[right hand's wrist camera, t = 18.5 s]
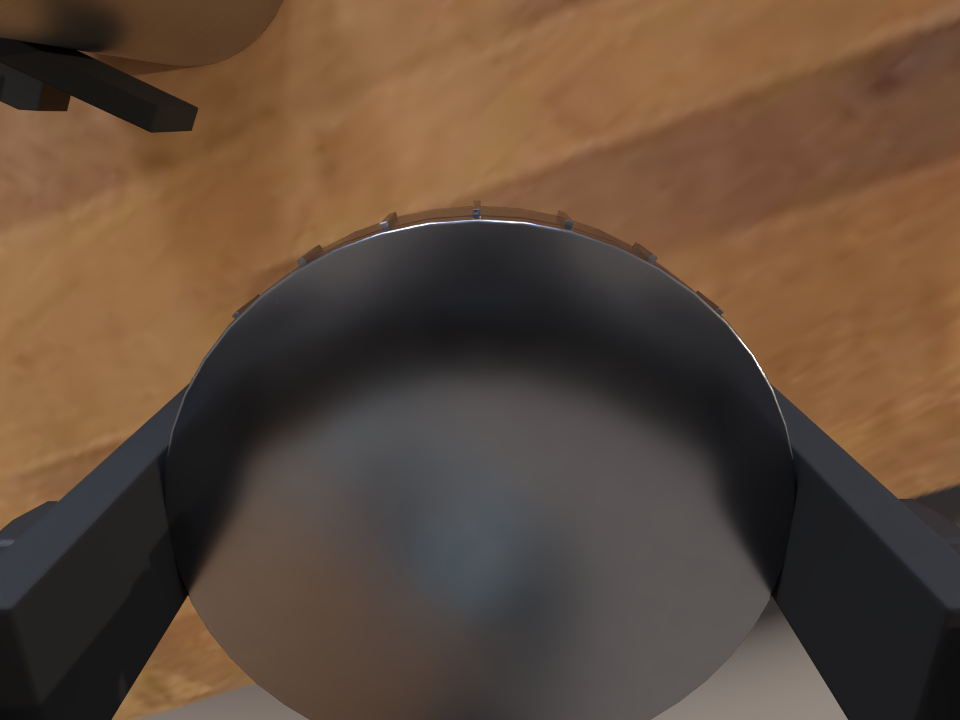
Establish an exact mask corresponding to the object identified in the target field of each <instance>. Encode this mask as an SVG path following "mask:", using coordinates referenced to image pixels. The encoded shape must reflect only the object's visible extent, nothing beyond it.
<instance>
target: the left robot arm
mask: <svg viewBox="0 0 960 720" xmlns="http://www.w3.org/2000/svg"><path fill="white" fill-rule="evenodd" d="M70 96H73V97H76V98H78V99H80V100H82V101H84V102H86V103H89V104H91V105H93V106H95V107H97V108H99V109H101V110H104V111H106V112H108V113H110V114H112V115H114V116H117V117H119V118H121V119H123V120H125V121H127V122H130V123H132V124H134V125H136V126H138V127H140V128H142V129H145V130H147V131H149V132H151V133H153V132H175V131H192V128H193V124H194V121H195V118H196V114H197V111H198V108H197V107H195V106H193V105H191V104H189V103H187V102H185V101H183V100H181V99H178V98H176V97H174V96H172V95H170V94H168V93H166V92H164V91H162V90H159V89H157V88H155V87H153V86H151V85H149V84H147V83H145V82H143V81H140V80H138V79H136V78H134V77H132V76H130V75H128V74H126V73H124V72H121V71H119V70H117V69H115V68H113V67H111V66H109V65H107V64H105V63H103V62H100V61H98V60H96V59H94V58H92V57H90V56H88V55H86V54H84V53H81V52H79V51H77V50H74V49H68V48H62V47H56V46H50V45H44V44H38V43H32V42H26V41H20V40H14V39H8V38H2V37H0V101H1V102H3V103H6V104H8V105H10V106H12V107H14V108H17V109H19V110H34V111H67V109H68V105H69V100H70Z"/></svg>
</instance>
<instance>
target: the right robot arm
mask: <svg viewBox="0 0 960 720" xmlns="http://www.w3.org/2000/svg"><path fill="white" fill-rule="evenodd" d="M189 384H190V383H189ZM189 384H188V385H187V386H186V387H185V388H184V389H183V390H182V391H181V392H179V393H178V394H177V395H176V396H175V397H174V398H173V399H172V400H171V401H169V402H168V403H167V404H166V405H165V406H164V407H163V408H162V409H161V410H159V411H158V412H157V413H156V414H155V415H154V416H153V417H152V418H151V419H149V420H148V421H147V422H146V423H145V424H144V425H143V426H142V427H141V428H140V429H138V430H137V431H136V432H135V433H134V434H133V435H132V436H131V437H130V438H128V439H127V440H126V441H125V442H124V443H123V444H122V445H121V446H120V447H118V448H117V449H116V450H115V451H114V452H113V453H112V454H111V455H110V456H109V457H107V458H106V459H105V460H104V461H103V462H102V463H101V464H100V465H99V466H97V467H96V468H95V469H94V470H93V471H92V472H91V473H90V474H89V475H87V476H86V477H85V478H84V479H83V480H82V481H81V482H80V483H79V484H77V485H76V486H75V487H74V488H73V489H72V490H71V491H70V492H69V493H68V494H66V495H65V496H64V497H63V498H62V499H61V500H60V501H48V502H46V503H44V504H42V505H40V506H38V507H37V508H35V509H33V510H31V511H29V512H27V513H25V514H23V515H22V516H20V517H18V518H16V519H14V520H13V521H11V522H10V523H9V524H8V525H7V526H6V527H4V528H3V529H2V530H1V531H0V720H111V719H112V718H113V716H114V714H115V713H116V711H117V710H118V708H119V706H120V705H121V703H122V701H123V700H124V698H125V697H126V695H127V693H128V692H129V690H130V688H131V687H132V685H133V684H134V682H135V680H136V679H137V677H138V675H139V674H140V672H141V671H142V669H143V667H144V666H145V664H146V662H147V661H148V659H149V658H150V656H151V654H152V653H153V651H154V649H155V648H156V646H157V645H158V643H159V641H160V640H161V638H162V636H163V635H164V633H165V632H166V630H167V628H168V627H169V625H170V624H171V622H172V620H173V619H174V617H175V615H176V614H177V612H178V611H179V609H180V607H181V606H182V604H183V602H184V601H185V599H186V598H187V596H188V593H187V591H186V589H185V586H184V584H183V582H182V580H181V577H180V575H179V573H178V570H177V566H176V562H175V557H174V553H173V548H172V543H171V538H170V533H169V527H168V521H167V516H166V510H165V505H164V489H165V464H166V458H167V453H168V448H169V442H170V437H171V432H172V428H173V425H174V422H175V419H176V416H177V414H178V411H179V408H180V405H181V402H182V399H183V397H184V394H185V392H186V390H187V388H188V386H189ZM770 385H771V384H770ZM771 386H772V385H771ZM772 388H773V391H774V393H775V396H776V398H777V401H778V404H779V406H780V409H781V412H782V414H783V417H784V420H785V422H786V425H787V430H788V435H789V440H790V444H791V449H792V454H793V459H794V473H795V494H796V500H795V508H794V514H793V519H792V525H791V531H790V536H789V541H788V546H787V551H786V556H785V560H784V565H783V569H782V571H781V574H780V576H779V579H778V581H777V583H776V586H775V588H774V590H773V593H772V597H773V598H774V600H775V601H776V603H777V605H778V606H779V608H780V610H781V611H782V613H783V614H784V616H785V618H786V619H787V621H788V622H789V624H790V626H791V627H792V629H793V631H794V632H795V634H796V636H797V637H798V639H799V640H800V642H801V644H802V645H803V647H804V648H805V650H806V652H807V653H808V655H809V657H810V658H811V660H812V661H813V663H814V665H815V666H816V668H817V670H818V671H819V673H820V675H821V676H822V678H823V679H824V681H825V683H826V684H827V686H828V688H829V689H830V691H831V692H832V694H833V696H834V697H835V699H836V700H837V702H838V704H839V705H840V707H841V709H842V710H843V712H844V714H845V715H846V717H847V718H848V720H960V528H959V527H958V526H956V525H955V524H954V523H953V522H952V521H950V520H949V519H948V518H947V517H945V516H943V515H941V514H939V513H937V512H935V511H934V510H932V509H930V508H928V507H926V506H924V505H922V504H920V503H919V502H917V501H915V500H913V499H898V498H896V497H895V496H894V495H893V494H892V493H891V492H890V491H889V490H888V489H886V488H885V487H884V486H883V485H882V484H881V483H880V482H879V481H878V480H877V479H875V478H874V477H873V476H872V475H871V474H870V473H869V472H868V471H867V470H865V469H864V468H863V467H862V466H861V465H860V464H859V463H858V462H857V461H855V460H854V459H853V458H852V457H851V456H850V455H849V454H848V453H847V452H845V451H844V450H843V449H842V448H841V447H840V446H839V445H838V444H837V443H836V442H834V441H833V440H832V439H831V438H830V437H829V436H828V435H827V434H826V433H824V432H823V431H822V430H821V429H820V428H819V427H818V426H817V425H816V424H814V423H813V422H812V421H811V420H810V419H809V418H808V417H807V416H806V415H805V414H803V413H802V412H801V411H800V410H799V409H798V408H797V407H796V406H795V405H793V404H792V403H791V402H790V401H789V400H788V399H787V398H786V397H785V396H783V395H782V394H781V393H780V392H779V391H778V390H777V389H776V388H775V387H774V386H772Z"/></svg>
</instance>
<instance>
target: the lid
mask: <svg viewBox="0 0 960 720" xmlns="http://www.w3.org/2000/svg"><path fill="white" fill-rule="evenodd" d="M656 260H657V257H656V256H655V255H654V254H652V253H651V252H650V251H648V250H647V249H646V248H644V247H643V246H642V245H640V244H639V243H637V242H635V244H634V245H633V246H631V245H629V244H627V243H625V242H623V241H621V240H619V239H617V238H615V237H613V236H611V235H609V234H607V233H605V232H603V231H601V230H599V229H596V228H594V227H591V226H588V225H585V224H582V223H579V222H576V221H573V220H572V219H571V218H570V217H569V216H568V215H567V214H566V213H565V212H563V211H558V214H557V215H551V214H546V213H541V212H536V211H531V210H526V209H521V208H507V207H490V206H481V201H473V206H467V207H454V208H441V209H432V210H428V211H423V212H418V213H414V214H409V215H404V216H400V217H397V214H396V212H393V213H390V214H389V215H388V216H387V217H386V218H385V219H384V220H383V221H382V222H381V223H378V224H375V225H372V226H369V227H367V228H364V229H361V230H358V231H356V232H354V233H352V234H350V235H348V236H346V237H344V238H342V239H340V240H338V241H336V242H335V243H333V244H331V245H329V246H327V247H325V248H323V249H322V248H321V246H320V245H318V246H316V247H314V248H313V249H312V250H310V251H309V252H308V253H306V254H305V255H304V256H302V257H301V258H300V259H298V260H297V262H298V263H299V266H297V267H296V268H294V269H293V270H292V271H290V272H289V273H288V274H286V275H285V276H284V277H282V278H281V279H280V280H279V281H277V282H276V283H275V284H274V285H272V286H271V287H270V288H268V289H267V290H266V291H265V292H263V293H262V294H261V295H259V294H258V295H257V296H256V297H254V298H253V299H252V300H250V301H249V302H248V303H247V304H245V305H244V306H243V307H241V308H240V309H239V310H238V311H236V312H235V314H234V315H233V317H234V318H235V320H234V321H233V322H232V323H231V324H230V325H229V326H228V327H227V328H226V330H225V331H224V332H223V334H222V335H221V336H220V337H219V339H218V340H217V341H216V343H215V344H214V345H213V347H212V348H211V349H210V351H209V352H208V353H207V355H206V356H205V357H204V359H203V360H202V362H201V364H200V366H199V368H198V370H197V371H196V373H195V375H194V377H193V378H192V380H191V382H190V384H189V386H188V388H187V390H186V392H185V394H184V397H183V399H182V402H181V405H180V408H179V411H178V414H177V416H176V419H175V422H174V425H173V428H172V432H171V437H170V442H169V448H168V453H167V458H166V464H165V489H164V505H165V510H166V516H167V521H168V527H169V533H170V538H171V543H172V548H173V553H174V557H175V562H176V566H177V570H178V573H179V575H180V577H181V580H182V582H183V584H184V586H185V589H186V591H187V593H188V595H189V598H190V600H191V602H192V604H193V606H194V607H195V609H196V611H197V612H198V614H199V615H200V617H201V619H202V620H203V622H204V624H205V625H206V627H207V628H208V630H209V632H210V633H211V634H212V636H213V637H214V638H215V639H216V641H217V642H218V643H219V644H220V645H221V647H222V648H223V649H224V650H225V652H226V653H227V654H228V655H229V657H230V658H231V659H232V660H233V661H234V662H235V663H236V664H237V665H238V666H239V667H240V668H241V669H242V670H243V671H244V672H245V673H246V674H247V675H249V676H250V677H251V678H252V679H253V680H254V681H255V682H256V683H257V684H258V685H259V686H261V687H262V688H263V689H265V690H266V691H267V692H269V693H270V694H271V695H273V696H274V697H275V698H277V699H278V700H279V701H280V702H282V703H283V704H284V705H286V706H288V707H289V708H291V709H293V710H294V711H296V712H298V713H300V714H301V715H303V716H304V717H306V718H308V719H309V720H651V719H652V718H654V717H656V716H657V715H659V714H660V713H662V712H664V711H665V710H667V709H668V708H670V707H672V706H673V705H675V704H677V703H678V702H680V701H681V700H682V699H683V698H685V697H686V696H687V695H689V694H690V693H691V692H692V691H694V690H695V689H696V688H697V687H699V686H700V685H701V684H703V683H704V682H705V681H706V680H707V679H708V678H709V677H710V676H711V675H712V674H713V673H714V672H715V671H716V670H717V669H718V668H719V667H720V666H721V665H722V664H723V663H724V662H725V661H726V660H728V658H729V657H730V656H731V655H732V654H733V653H734V651H735V650H736V649H737V648H738V646H739V645H740V644H741V643H742V641H743V640H744V639H745V637H746V636H747V635H748V634H749V632H750V631H751V630H752V628H753V627H754V625H755V623H756V622H757V620H758V618H759V617H760V615H761V613H762V612H763V610H764V608H765V606H766V605H767V603H768V601H769V600H770V598H771V595H772V593H773V590H774V588H775V586H776V583H777V581H778V579H779V576H780V574H781V571H782V569H783V565H784V560H785V556H786V551H787V546H788V541H789V536H790V531H791V525H792V519H793V514H794V508H795V500H796V494H795V473H794V459H793V454H792V449H791V444H790V440H789V435H788V430H787V425H786V422H785V420H784V417H783V414H782V412H781V409H780V406H779V404H778V401H777V398H776V396H775V393H774V391H773V388H772V386H771V385H770V383H769V381H768V379H767V376H766V374H765V373H764V372H763V371H762V369H761V367H760V365H759V364H758V362H757V360H756V358H755V357H754V355H753V353H752V352H751V351H750V349H749V348H748V347H747V346H746V344H745V343H744V342H743V341H742V339H741V338H740V337H739V336H738V334H737V333H736V332H735V331H734V329H733V328H732V327H731V326H730V324H729V323H728V322H727V321H726V320H725V319H724V318H723V317H722V316H721V314H722V313H723V311H722V310H721V308H720V307H718V306H717V305H716V304H714V303H713V302H712V301H711V300H709V299H708V298H707V297H705V296H704V295H703V294H702V293H700V292H699V291H697V292H695V291H694V290H692V289H691V288H690V287H689V286H687V285H686V284H685V283H684V282H682V281H681V280H680V279H679V278H677V277H676V276H675V275H674V274H672V273H671V272H670V271H668V270H667V269H666V268H664V267H663V266H661V265H660V264H658V263H657V262H656Z"/></svg>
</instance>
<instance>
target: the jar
mask: <svg viewBox="0 0 960 720" xmlns="http://www.w3.org/2000/svg"><path fill="white" fill-rule="evenodd" d="M282 1H283V0H0V37H2V38H8V39H14V40H20V41H26V42H32V43H38V44H44V45H50V46H56V47H62V48H68V49H74V50H80V51H86V52H92V53H98V54H104V55H110V56H116V57H122V58H128V59H134V60H140V61H147V62H153V63H159V64H165V65H171V66H183V67H190V66H203V65H207V64H212V63H216V62H219V61H222V60H224V59H227V58H230V57H232V56H233V55H235V54H237V53H239V52H240V51H242V50H244V49H245V48H246V47H247V46H249V45H250V44H251V43H252V42H254V41H255V40H256V39H257V38H258V37H259V36H260V35H261V34H262V33H263V31H264V30H265V29H266V28H267V26H268V25H269V24H270V22H271V21H272V19H273V18H274V16H275V15H276V13H277V11H278V9H279V7H280V5H281V3H282Z"/></svg>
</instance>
